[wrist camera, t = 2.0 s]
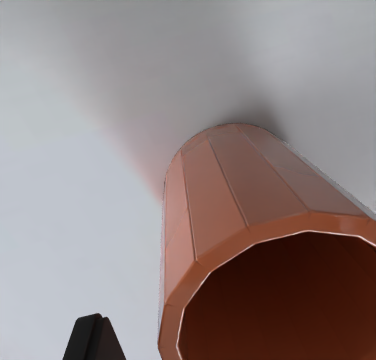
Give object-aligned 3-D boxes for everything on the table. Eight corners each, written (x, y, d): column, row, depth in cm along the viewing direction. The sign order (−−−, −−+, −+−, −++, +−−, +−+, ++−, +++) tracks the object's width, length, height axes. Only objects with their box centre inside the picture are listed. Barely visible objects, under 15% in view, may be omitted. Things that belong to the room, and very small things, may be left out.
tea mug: (147, 142, 15) (122, 256, 7) (289, 106, 15) (440, 178, 7) (195, 304, 19) (217, 509, 10) (312, 277, 19) (429, 464, 10)
